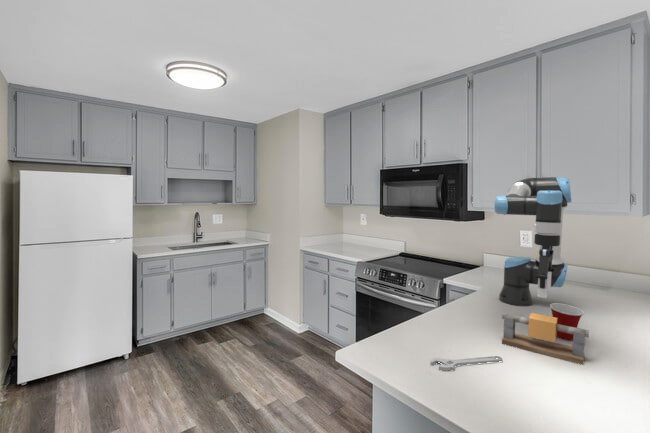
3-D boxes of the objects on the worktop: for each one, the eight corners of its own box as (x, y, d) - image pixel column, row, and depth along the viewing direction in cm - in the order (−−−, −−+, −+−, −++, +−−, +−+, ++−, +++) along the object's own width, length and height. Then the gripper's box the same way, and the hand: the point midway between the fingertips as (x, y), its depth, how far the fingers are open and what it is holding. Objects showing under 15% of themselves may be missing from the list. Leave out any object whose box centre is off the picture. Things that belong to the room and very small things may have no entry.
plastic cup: (567, 345, 122) (569, 313, 121) (541, 333, 133) (543, 304, 132) (589, 342, 125) (591, 311, 124) (562, 330, 136) (563, 302, 135)
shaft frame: (504, 334, 132) (505, 309, 131) (587, 354, 115) (589, 326, 115) (498, 343, 124) (500, 316, 123) (587, 365, 107) (588, 335, 107)
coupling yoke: (530, 329, 124) (531, 312, 124) (556, 335, 119) (557, 317, 119) (528, 335, 119) (528, 318, 119) (554, 342, 114) (555, 323, 114)
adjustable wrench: (498, 359, 112) (498, 354, 112) (511, 369, 106) (511, 364, 106) (428, 362, 110) (428, 357, 110) (437, 373, 103) (437, 367, 103)
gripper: (539, 230, 129) (536, 283, 130) (529, 236, 109) (526, 299, 111) (562, 231, 124) (559, 287, 126) (557, 238, 105) (553, 303, 106)
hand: (544, 292), depth 118 cm, fingers open, 13 cm apart
